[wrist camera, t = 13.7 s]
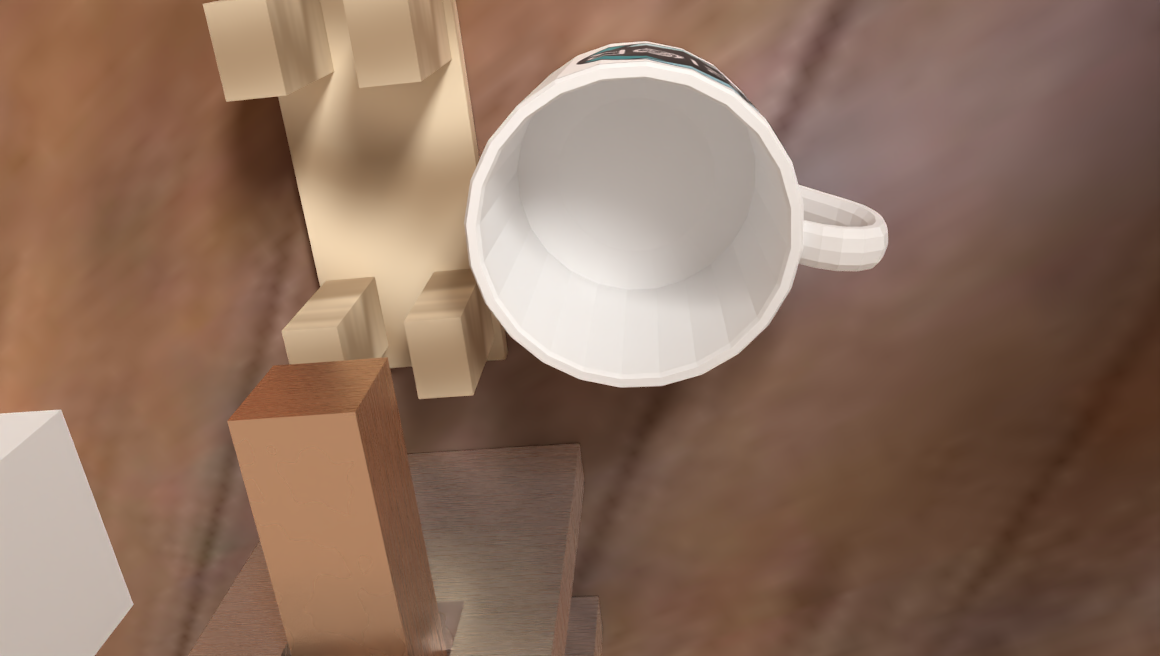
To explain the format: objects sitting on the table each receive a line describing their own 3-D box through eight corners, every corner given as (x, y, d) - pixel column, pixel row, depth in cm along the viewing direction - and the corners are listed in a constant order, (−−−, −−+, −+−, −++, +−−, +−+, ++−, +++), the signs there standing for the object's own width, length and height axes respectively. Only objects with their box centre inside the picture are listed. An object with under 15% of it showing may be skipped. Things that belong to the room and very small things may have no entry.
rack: (250, -68, 36) (176, -64, 30) (441, -91, 35) (402, -92, 29) (344, 363, 42) (297, 432, 36) (507, 351, 41) (485, 419, 36)
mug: (496, 291, 40) (461, 377, 33) (502, 21, 36) (464, 49, 29) (830, 316, 40) (871, 410, 32) (874, 45, 36) (933, 80, 28)
